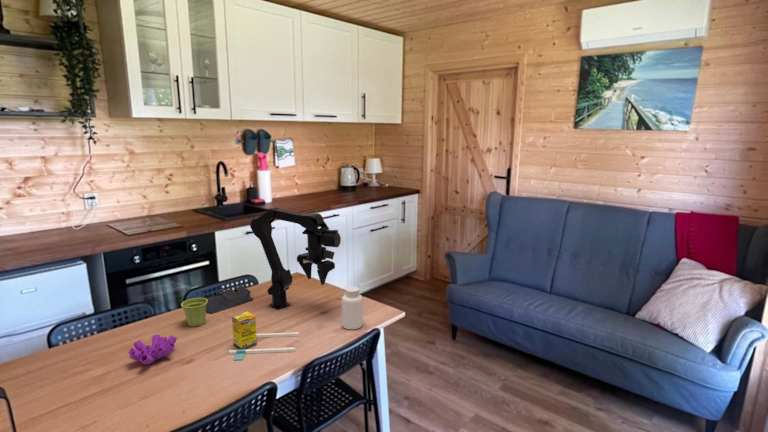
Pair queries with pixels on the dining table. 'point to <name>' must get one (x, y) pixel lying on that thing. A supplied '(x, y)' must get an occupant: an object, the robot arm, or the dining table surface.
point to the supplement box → (244, 330)
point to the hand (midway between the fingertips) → (316, 281)
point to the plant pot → (195, 311)
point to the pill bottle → (352, 308)
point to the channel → (241, 352)
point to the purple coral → (152, 349)
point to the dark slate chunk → (228, 299)
